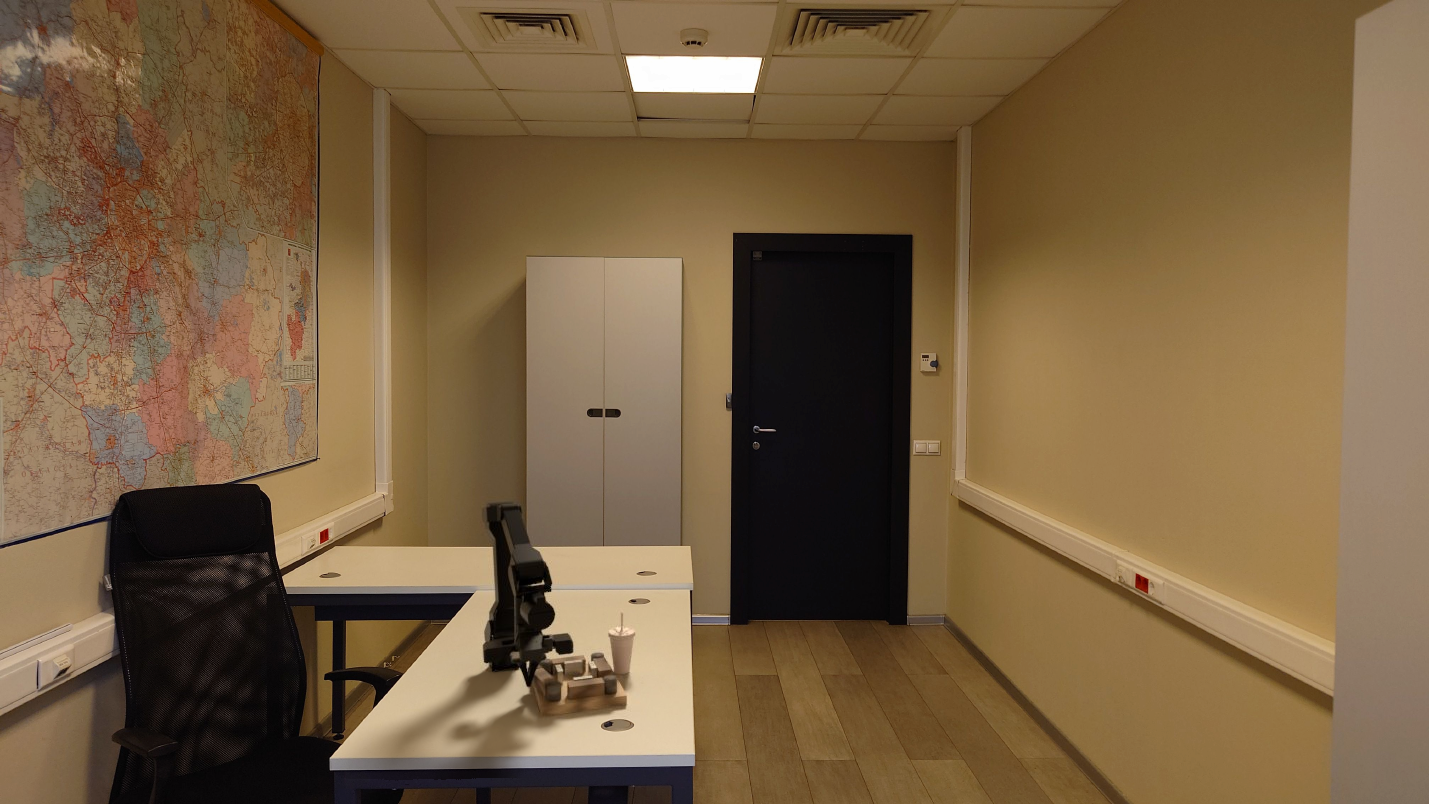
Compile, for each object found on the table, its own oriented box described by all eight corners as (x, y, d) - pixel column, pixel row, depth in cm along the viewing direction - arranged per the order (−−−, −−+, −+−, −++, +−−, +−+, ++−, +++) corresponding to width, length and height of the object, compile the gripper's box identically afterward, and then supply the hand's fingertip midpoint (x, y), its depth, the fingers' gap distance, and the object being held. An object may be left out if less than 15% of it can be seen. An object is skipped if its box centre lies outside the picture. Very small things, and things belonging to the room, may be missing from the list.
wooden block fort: (541, 716, 163) (541, 693, 162) (530, 679, 181) (530, 658, 181) (626, 704, 169) (626, 681, 168) (607, 669, 187) (607, 648, 187)
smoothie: (636, 665, 190) (636, 608, 189) (634, 676, 183) (634, 617, 183) (609, 665, 190) (609, 608, 189) (606, 676, 183) (606, 617, 182)
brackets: (561, 695, 168) (561, 681, 168) (554, 675, 178) (554, 662, 178) (601, 689, 171) (601, 676, 171) (591, 670, 181) (591, 658, 181)
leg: (563, 698, 166) (563, 685, 166) (550, 702, 164) (550, 688, 164) (540, 677, 177) (540, 664, 177) (527, 680, 175) (527, 667, 175)
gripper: (485, 632, 159) (485, 708, 160) (577, 623, 165) (577, 695, 166) (482, 615, 169) (482, 686, 170) (569, 607, 175) (569, 675, 176)
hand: (528, 686), depth 170 cm, fingers closed
